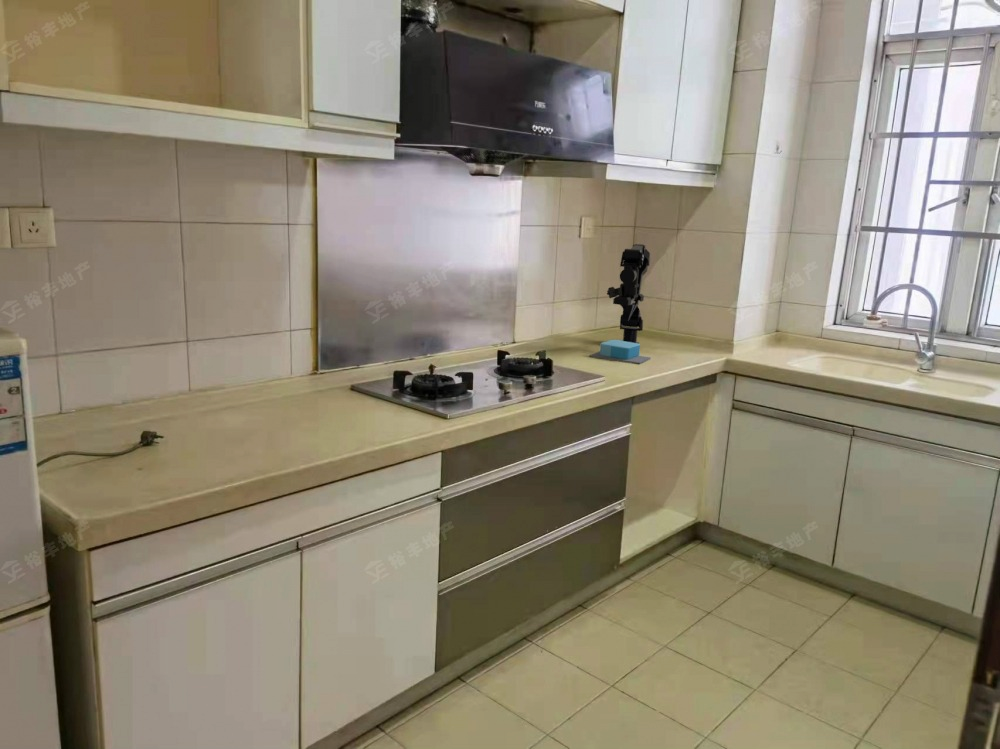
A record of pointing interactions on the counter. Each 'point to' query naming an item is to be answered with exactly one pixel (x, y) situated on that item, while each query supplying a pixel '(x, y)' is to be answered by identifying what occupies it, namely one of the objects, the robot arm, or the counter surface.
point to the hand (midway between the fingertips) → (626, 320)
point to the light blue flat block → (619, 349)
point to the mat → (632, 360)
